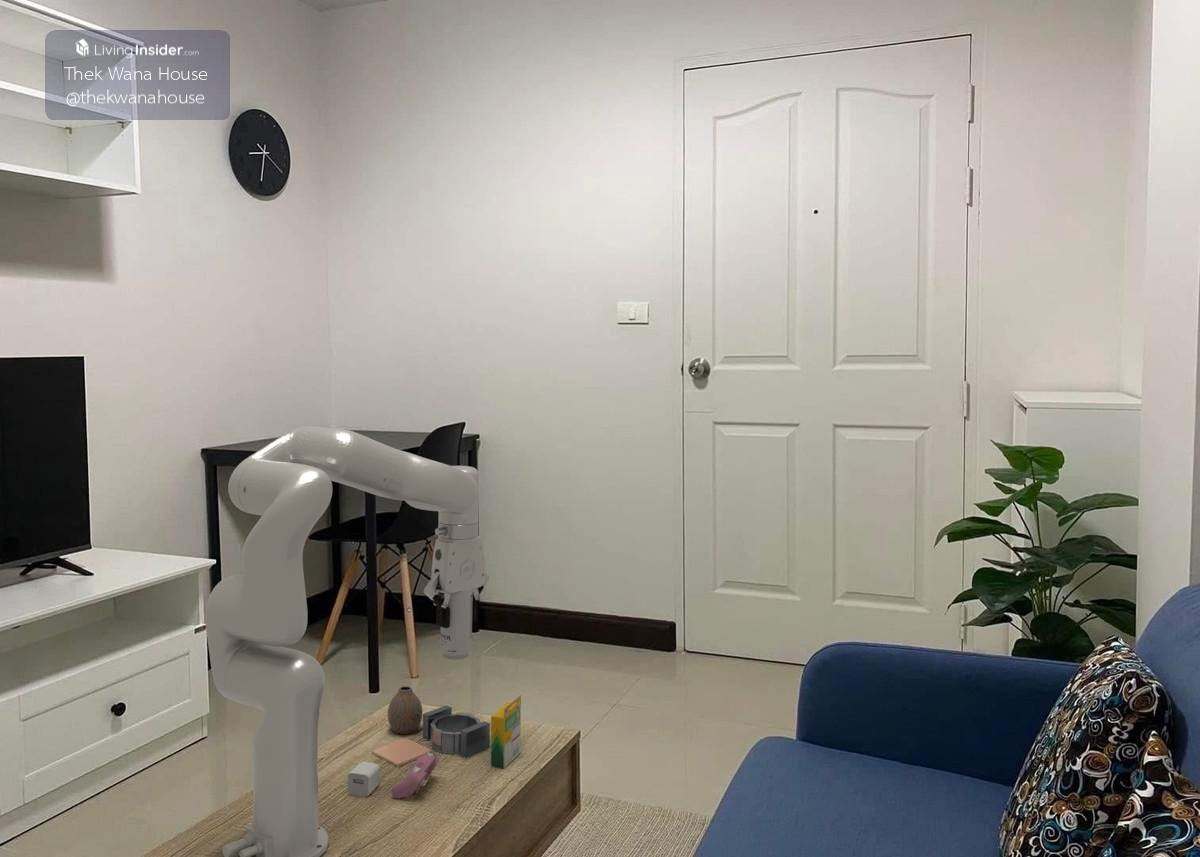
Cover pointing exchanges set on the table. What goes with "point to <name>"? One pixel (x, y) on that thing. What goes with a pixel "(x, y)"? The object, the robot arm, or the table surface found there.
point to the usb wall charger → (364, 779)
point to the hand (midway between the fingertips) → (456, 622)
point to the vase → (405, 711)
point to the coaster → (401, 752)
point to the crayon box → (506, 734)
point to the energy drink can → (458, 627)
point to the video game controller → (416, 776)
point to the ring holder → (455, 732)
